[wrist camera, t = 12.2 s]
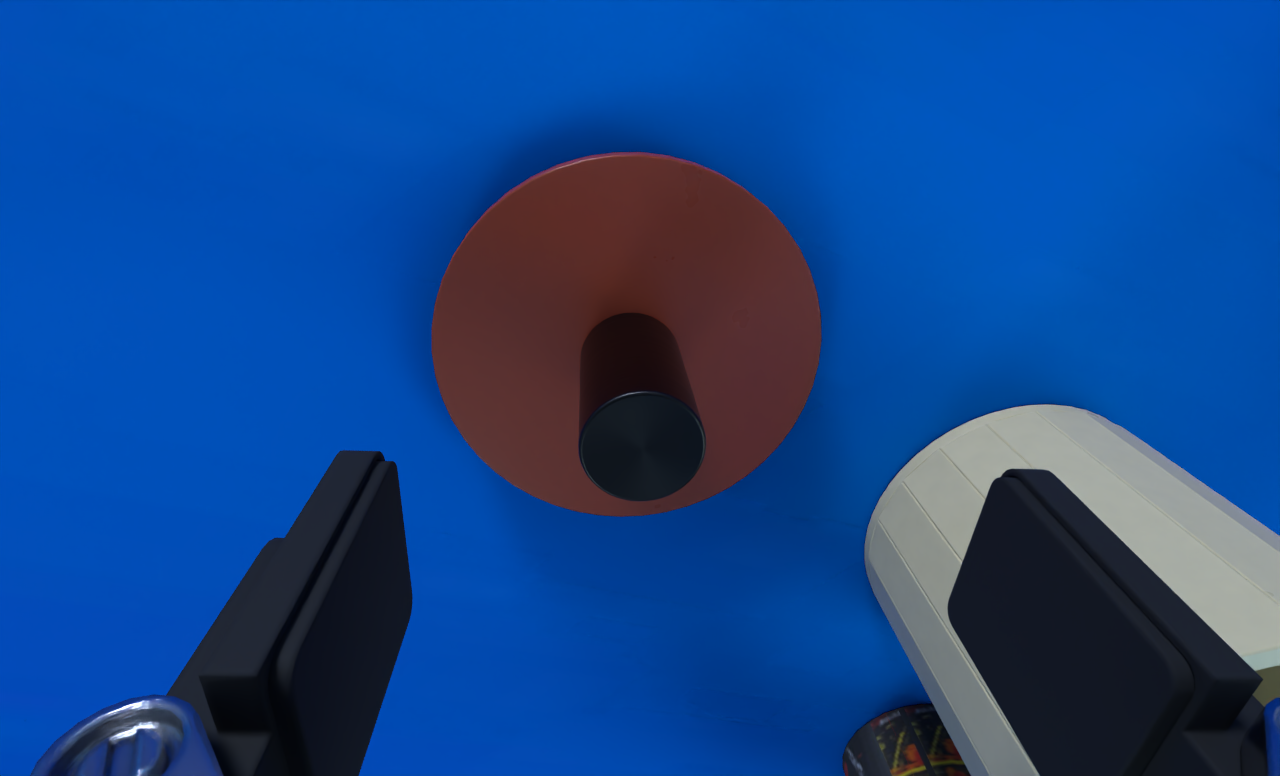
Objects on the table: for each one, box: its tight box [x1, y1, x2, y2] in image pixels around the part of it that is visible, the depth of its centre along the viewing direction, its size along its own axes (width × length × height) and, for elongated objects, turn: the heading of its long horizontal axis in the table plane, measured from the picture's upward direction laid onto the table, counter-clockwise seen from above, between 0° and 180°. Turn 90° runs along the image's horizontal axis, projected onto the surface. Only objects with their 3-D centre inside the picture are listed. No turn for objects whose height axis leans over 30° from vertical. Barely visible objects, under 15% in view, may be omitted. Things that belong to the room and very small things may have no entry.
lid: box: [432, 152, 821, 517], centre depth 18 cm, size 11×11×6 cm
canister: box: [864, 404, 1280, 776], centre depth 20 cm, size 10×10×10 cm
